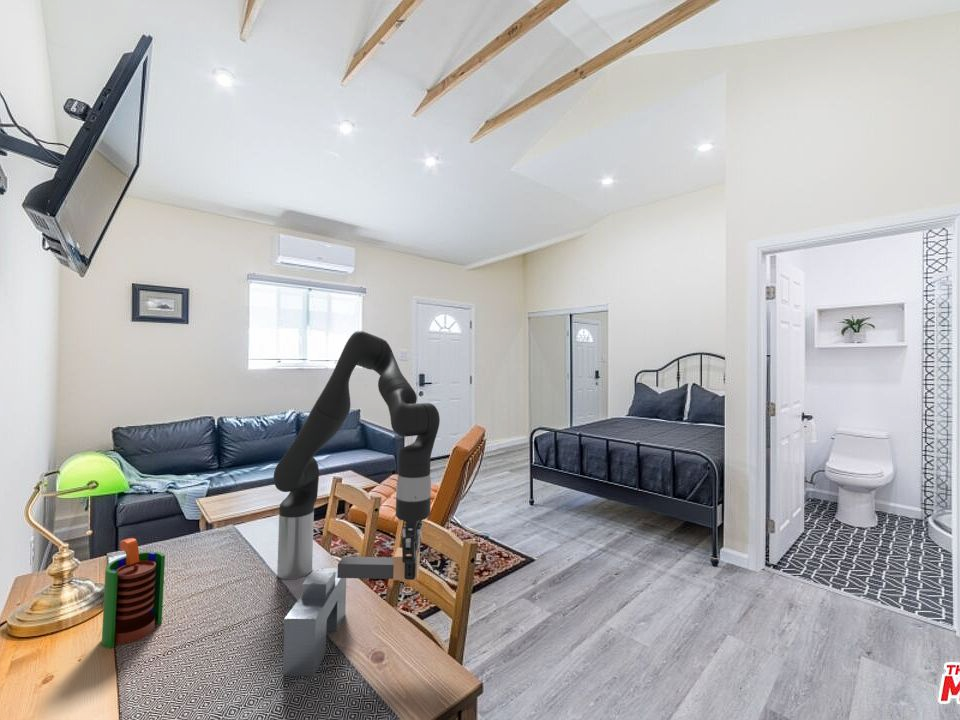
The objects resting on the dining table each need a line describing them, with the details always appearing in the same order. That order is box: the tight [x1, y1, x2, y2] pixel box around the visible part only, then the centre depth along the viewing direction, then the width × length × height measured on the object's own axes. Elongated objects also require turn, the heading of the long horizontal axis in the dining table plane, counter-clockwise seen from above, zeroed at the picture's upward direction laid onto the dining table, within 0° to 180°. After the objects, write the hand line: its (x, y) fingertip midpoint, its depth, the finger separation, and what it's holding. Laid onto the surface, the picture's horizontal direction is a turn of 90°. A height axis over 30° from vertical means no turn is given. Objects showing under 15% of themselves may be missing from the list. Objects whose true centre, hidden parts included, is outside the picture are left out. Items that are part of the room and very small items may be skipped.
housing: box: [282, 567, 347, 677], centre depth 90 cm, size 6×20×14 cm, turn 1°
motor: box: [101, 537, 166, 649], centre depth 92 cm, size 10×9×20 cm
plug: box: [337, 547, 421, 581], centre depth 91 cm, size 17×4×5 cm, turn 91°
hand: (411, 572), depth 91 cm, fingers closed on plug, 4 cm apart
